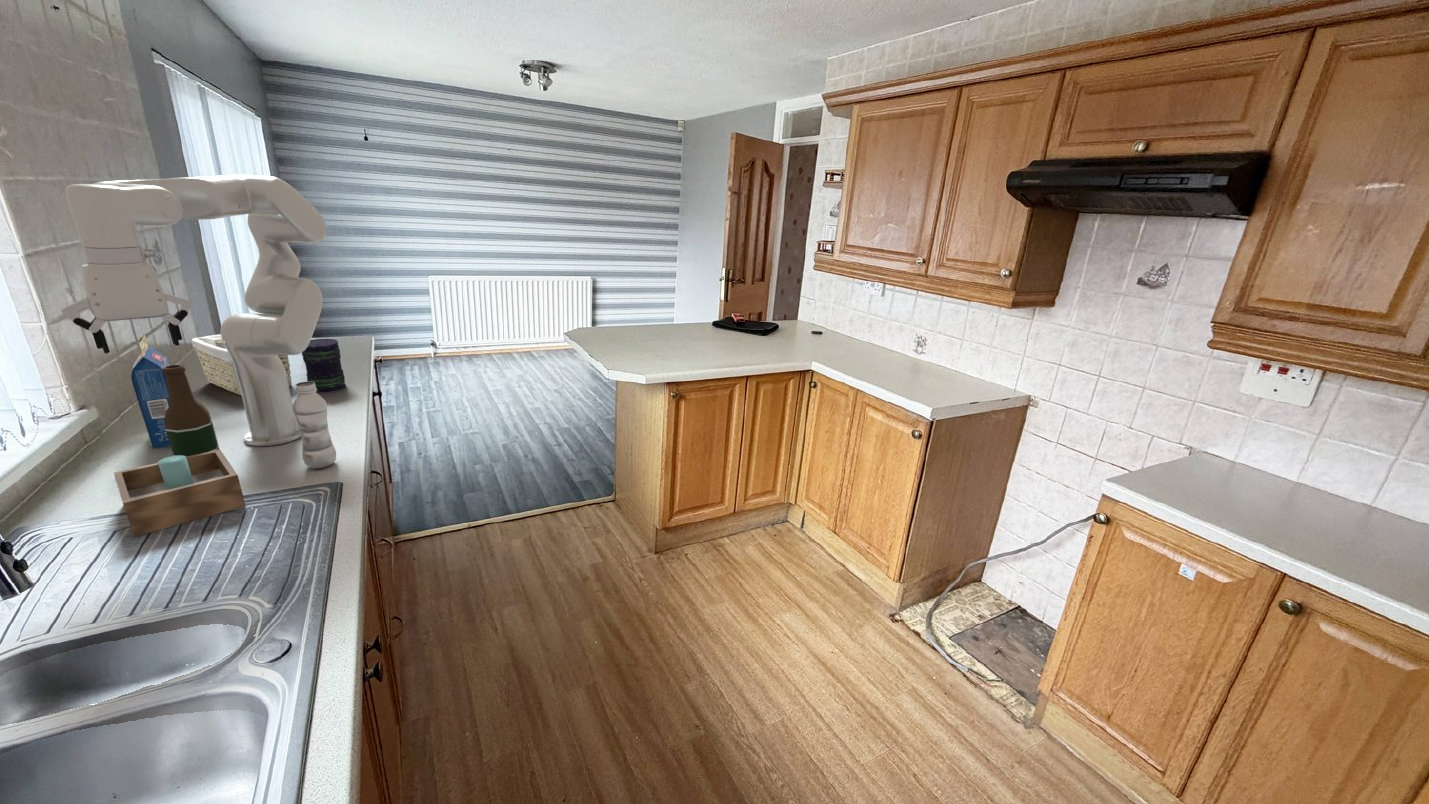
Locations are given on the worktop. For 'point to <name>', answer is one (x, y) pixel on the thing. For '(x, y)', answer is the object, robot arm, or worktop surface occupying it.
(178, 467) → the peg
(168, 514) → the box
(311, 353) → the storage jar
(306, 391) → the plastic bottle
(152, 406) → the blue food package
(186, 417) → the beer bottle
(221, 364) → the storage basket
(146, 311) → the robot arm
